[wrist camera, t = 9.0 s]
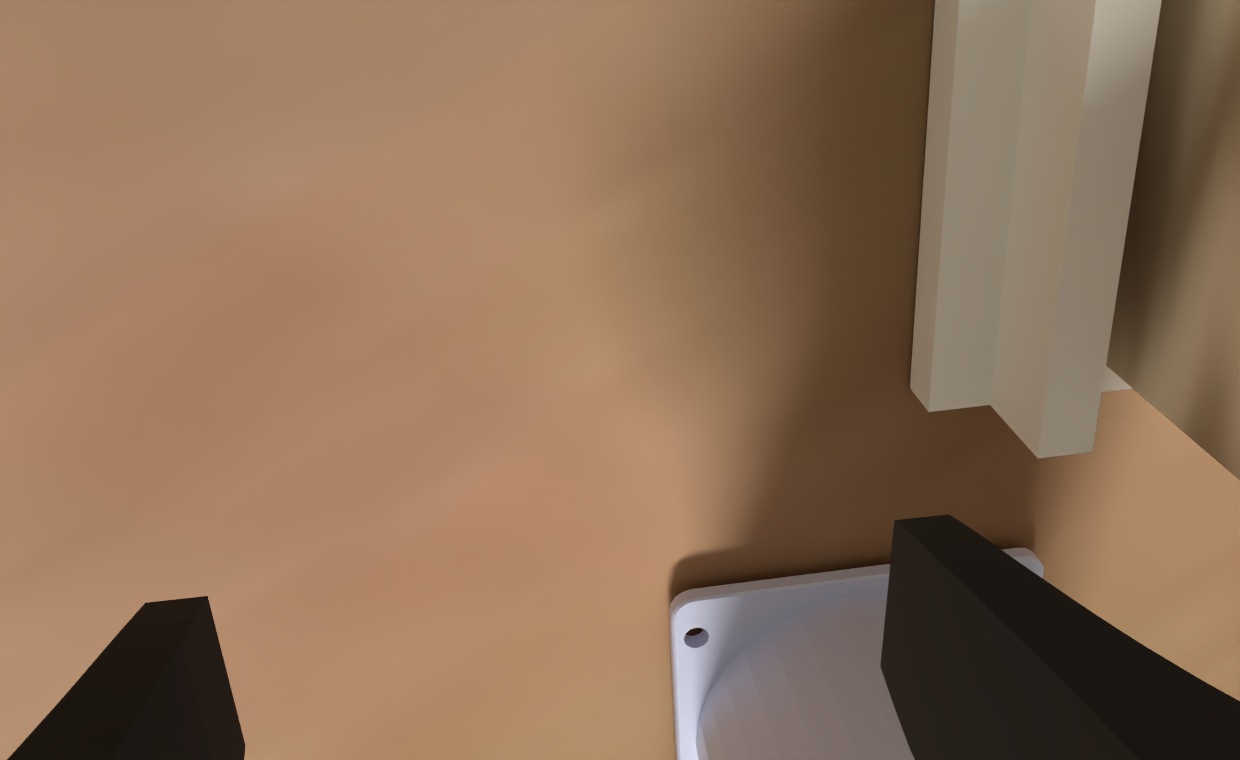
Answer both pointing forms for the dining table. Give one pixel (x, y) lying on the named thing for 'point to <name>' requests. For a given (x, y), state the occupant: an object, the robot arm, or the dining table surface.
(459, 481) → the dining table surface
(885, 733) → the robot arm
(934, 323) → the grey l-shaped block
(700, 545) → the dining table surface
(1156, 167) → the beige and brown block
